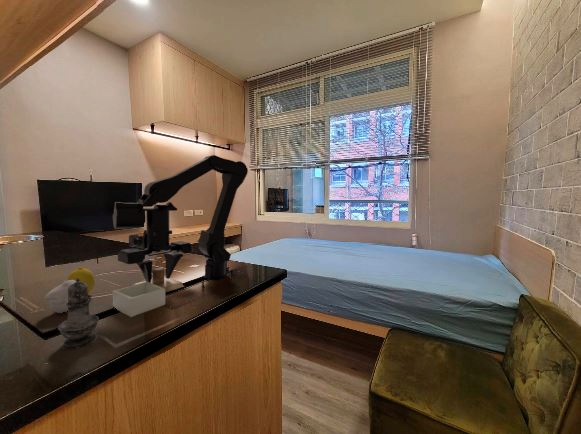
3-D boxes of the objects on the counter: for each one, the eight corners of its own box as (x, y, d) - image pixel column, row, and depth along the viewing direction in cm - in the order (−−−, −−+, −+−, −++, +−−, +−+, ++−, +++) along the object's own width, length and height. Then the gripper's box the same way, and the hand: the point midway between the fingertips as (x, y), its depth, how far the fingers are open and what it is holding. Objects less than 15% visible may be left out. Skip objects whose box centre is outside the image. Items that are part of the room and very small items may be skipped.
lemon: (79, 303, 63) (78, 271, 62) (61, 300, 64) (60, 269, 63) (100, 295, 68) (99, 265, 68) (83, 292, 70) (82, 263, 69)
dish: (147, 298, 68) (146, 281, 67) (165, 306, 63) (165, 288, 63) (112, 309, 61) (112, 290, 60) (130, 319, 57) (130, 299, 56)
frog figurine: (89, 310, 60) (88, 280, 59) (48, 321, 54) (47, 289, 54) (81, 302, 64) (80, 275, 63) (42, 312, 58) (40, 282, 57)
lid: (163, 279, 80) (163, 263, 80) (182, 286, 76) (182, 268, 75) (133, 288, 73) (133, 270, 72) (151, 295, 68) (151, 276, 68)
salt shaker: (52, 353, 44) (49, 284, 43) (65, 335, 50) (63, 274, 48) (94, 346, 46) (92, 281, 45) (103, 330, 52) (101, 271, 51)
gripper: (171, 221, 85) (171, 268, 86) (106, 226, 69) (108, 283, 70) (193, 225, 79) (193, 275, 80) (128, 231, 63) (129, 293, 65)
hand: (158, 280), depth 74 cm, fingers open, 5 cm apart
